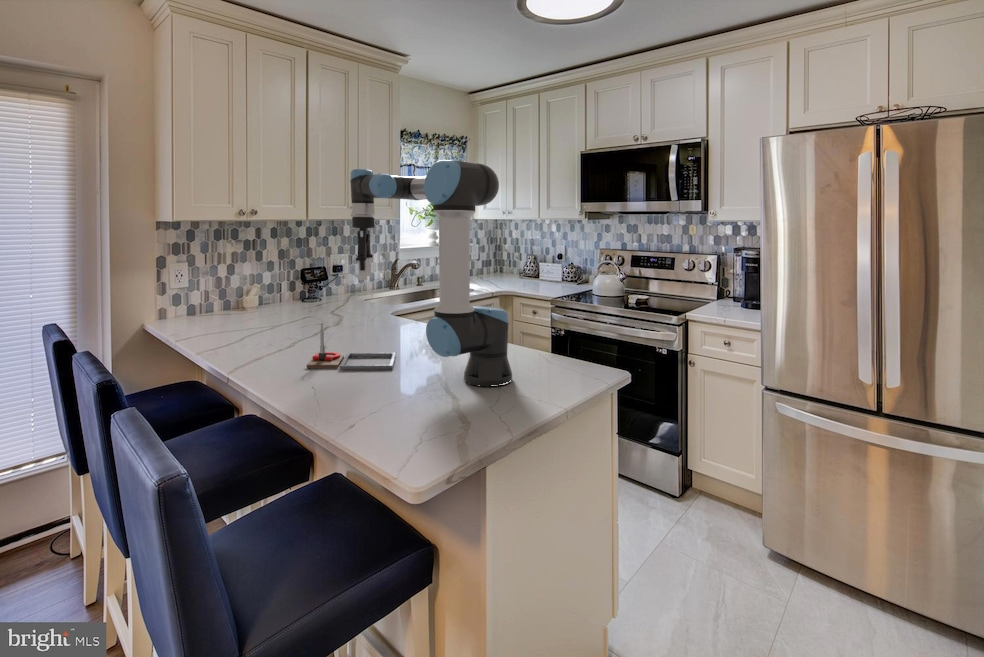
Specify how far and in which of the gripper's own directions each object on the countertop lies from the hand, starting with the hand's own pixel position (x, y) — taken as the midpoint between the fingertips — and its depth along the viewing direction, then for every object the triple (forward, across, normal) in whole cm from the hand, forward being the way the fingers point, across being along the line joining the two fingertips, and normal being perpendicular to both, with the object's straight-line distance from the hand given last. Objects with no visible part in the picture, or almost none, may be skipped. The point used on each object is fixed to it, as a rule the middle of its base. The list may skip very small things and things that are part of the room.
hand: (365, 278), depth 183 cm
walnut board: (+28, +10, -13) cm, 33 cm away
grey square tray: (+28, +10, +2) cm, 30 cm away
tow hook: (+27, +6, -13) cm, 31 cm away
